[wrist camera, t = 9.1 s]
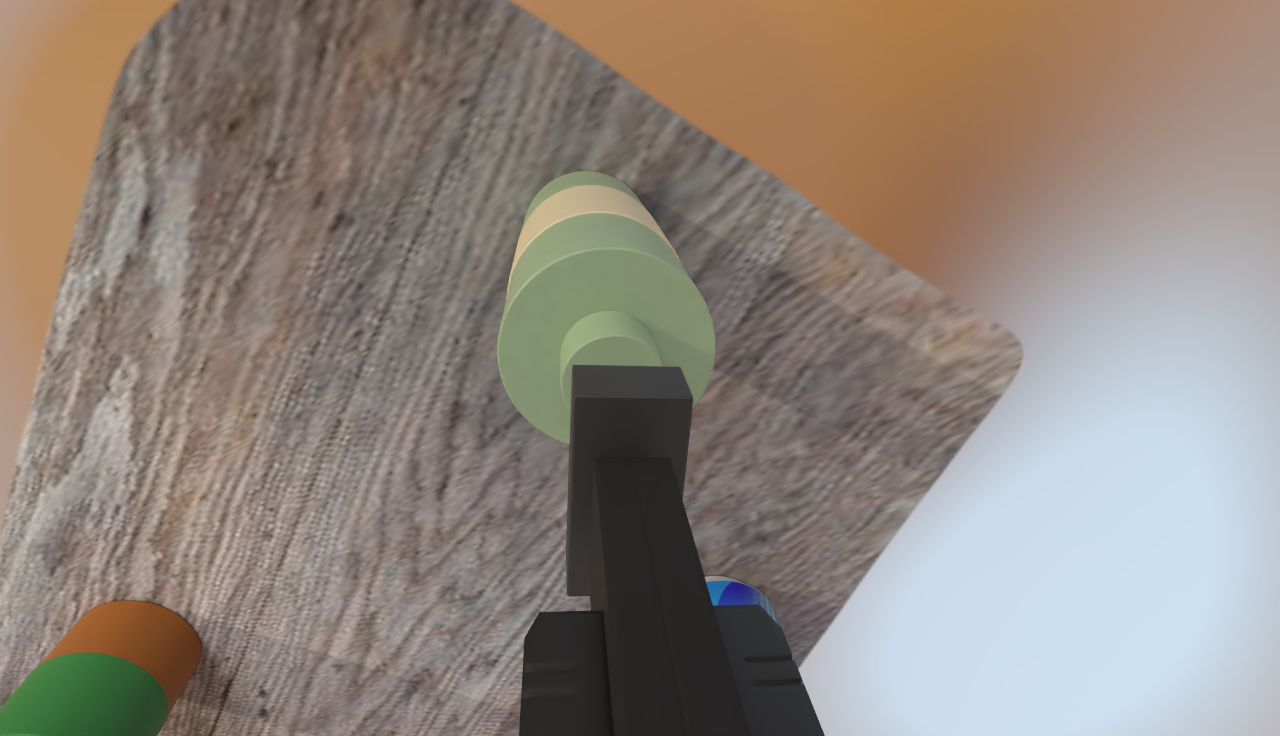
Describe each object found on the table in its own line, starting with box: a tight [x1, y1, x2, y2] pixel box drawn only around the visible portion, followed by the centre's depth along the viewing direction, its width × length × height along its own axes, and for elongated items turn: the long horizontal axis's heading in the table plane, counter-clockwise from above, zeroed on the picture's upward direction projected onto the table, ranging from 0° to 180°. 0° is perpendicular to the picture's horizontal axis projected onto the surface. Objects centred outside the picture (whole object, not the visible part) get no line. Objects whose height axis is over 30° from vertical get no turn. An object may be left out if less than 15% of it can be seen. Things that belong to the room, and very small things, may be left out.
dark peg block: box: [566, 365, 694, 596], centre depth 16 cm, size 7×2×3 cm, turn 176°
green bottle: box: [497, 171, 716, 445], centre depth 26 cm, size 6×6×18 cm
